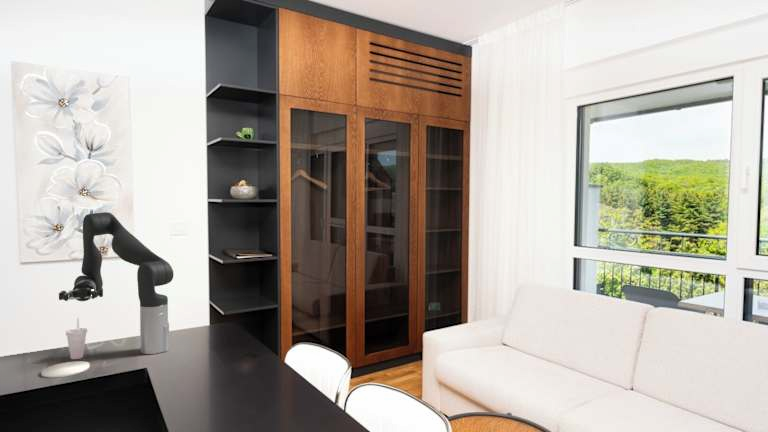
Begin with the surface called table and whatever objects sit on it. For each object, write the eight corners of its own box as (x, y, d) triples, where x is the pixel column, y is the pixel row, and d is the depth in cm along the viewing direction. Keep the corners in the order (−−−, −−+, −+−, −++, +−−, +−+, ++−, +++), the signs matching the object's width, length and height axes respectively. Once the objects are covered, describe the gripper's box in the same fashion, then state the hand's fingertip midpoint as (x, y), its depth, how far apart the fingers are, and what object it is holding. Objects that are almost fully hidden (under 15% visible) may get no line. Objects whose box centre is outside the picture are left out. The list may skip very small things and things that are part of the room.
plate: (94, 361, 157) (94, 359, 157) (82, 375, 145) (82, 372, 145) (50, 365, 153) (50, 363, 153) (34, 379, 141) (34, 377, 141)
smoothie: (79, 360, 159) (79, 320, 158) (61, 360, 159) (61, 320, 159) (91, 354, 165) (91, 316, 165) (74, 354, 165) (73, 316, 165)
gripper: (63, 282, 182) (56, 288, 168) (104, 279, 189) (101, 285, 175) (63, 300, 182) (56, 309, 168) (104, 297, 189) (101, 305, 175)
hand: (79, 297), depth 171 cm, fingers open, 8 cm apart
